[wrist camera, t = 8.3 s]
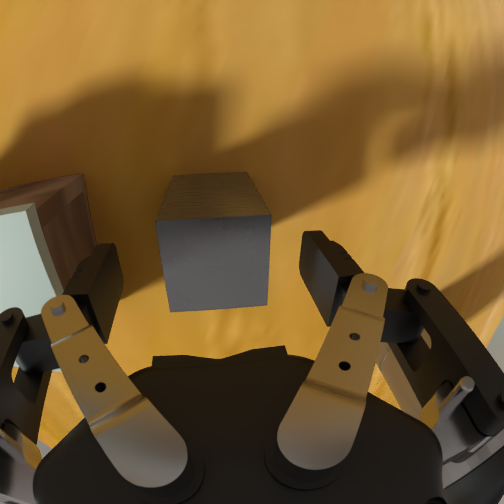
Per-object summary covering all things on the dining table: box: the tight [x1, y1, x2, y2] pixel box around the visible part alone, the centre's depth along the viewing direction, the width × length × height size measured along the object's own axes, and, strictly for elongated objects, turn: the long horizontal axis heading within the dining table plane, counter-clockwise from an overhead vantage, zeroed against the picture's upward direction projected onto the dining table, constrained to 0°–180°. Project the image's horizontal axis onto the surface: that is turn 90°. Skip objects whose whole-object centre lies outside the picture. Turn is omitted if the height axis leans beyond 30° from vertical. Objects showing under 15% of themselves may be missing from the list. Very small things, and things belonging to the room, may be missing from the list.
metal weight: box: [155, 172, 271, 312], centre depth 15 cm, size 4×4×7 cm
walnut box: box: [0, 174, 97, 290], centre depth 14 cm, size 12×10×6 cm
